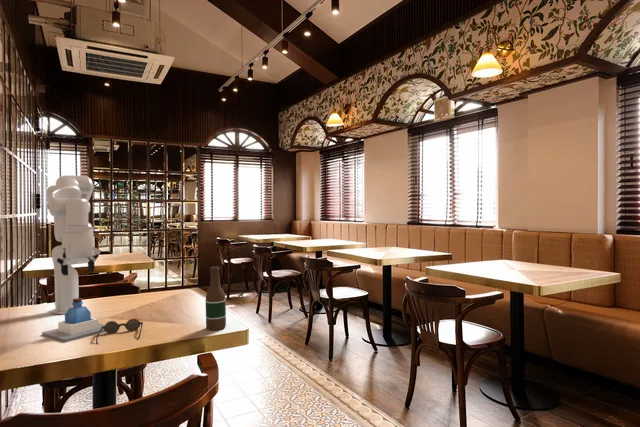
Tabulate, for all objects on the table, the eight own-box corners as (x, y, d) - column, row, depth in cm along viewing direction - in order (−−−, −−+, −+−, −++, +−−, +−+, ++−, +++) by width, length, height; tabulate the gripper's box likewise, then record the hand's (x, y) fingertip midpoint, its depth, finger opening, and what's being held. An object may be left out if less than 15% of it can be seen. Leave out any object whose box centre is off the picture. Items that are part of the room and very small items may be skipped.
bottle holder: (42, 334, 155) (41, 323, 154) (90, 323, 170) (89, 312, 170) (65, 342, 145) (65, 329, 145) (114, 329, 160) (113, 318, 160)
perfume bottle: (75, 332, 153) (74, 301, 153) (65, 331, 156) (64, 299, 155) (90, 328, 158) (90, 297, 158) (80, 326, 161) (80, 296, 161)
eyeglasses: (143, 329, 160) (142, 317, 160) (140, 340, 146) (140, 327, 146) (101, 334, 155) (101, 321, 155) (94, 346, 141) (94, 332, 141)
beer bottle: (208, 332, 153) (206, 269, 153) (204, 327, 160) (202, 266, 160) (228, 329, 157) (227, 267, 157) (223, 324, 164) (222, 265, 164)
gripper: (94, 228, 168) (95, 269, 168) (48, 230, 153) (49, 275, 154) (104, 228, 164) (105, 270, 164) (57, 231, 149) (59, 277, 149)
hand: (78, 273), depth 159 cm, fingers open, 9 cm apart
